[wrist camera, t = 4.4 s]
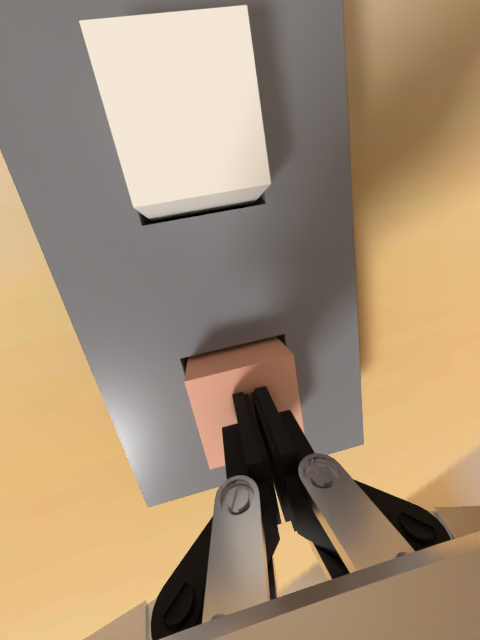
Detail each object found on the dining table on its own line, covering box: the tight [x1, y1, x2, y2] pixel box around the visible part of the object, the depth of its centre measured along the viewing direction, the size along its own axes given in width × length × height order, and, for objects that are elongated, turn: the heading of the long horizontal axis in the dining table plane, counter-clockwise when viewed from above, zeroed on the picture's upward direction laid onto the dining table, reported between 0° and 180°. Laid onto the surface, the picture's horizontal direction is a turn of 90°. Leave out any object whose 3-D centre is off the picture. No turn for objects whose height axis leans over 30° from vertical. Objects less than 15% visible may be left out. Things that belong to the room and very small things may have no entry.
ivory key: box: [79, 5, 271, 221], centre depth 9 cm, size 5×5×3 cm
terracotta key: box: [184, 336, 304, 470], centre depth 12 cm, size 5×5×3 cm
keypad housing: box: [0, 0, 364, 507], centre depth 13 cm, size 24×14×4 cm, turn 11°
